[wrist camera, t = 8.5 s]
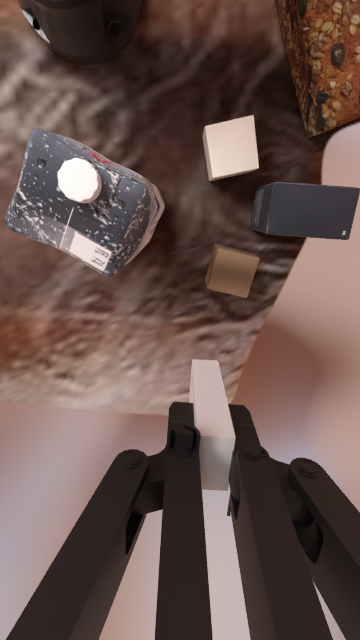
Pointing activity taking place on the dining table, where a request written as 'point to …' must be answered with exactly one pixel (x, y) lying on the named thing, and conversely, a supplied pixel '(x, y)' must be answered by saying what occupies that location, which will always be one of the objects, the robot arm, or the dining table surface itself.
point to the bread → (323, 59)
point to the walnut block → (231, 270)
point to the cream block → (230, 148)
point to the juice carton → (83, 203)
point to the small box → (304, 210)
